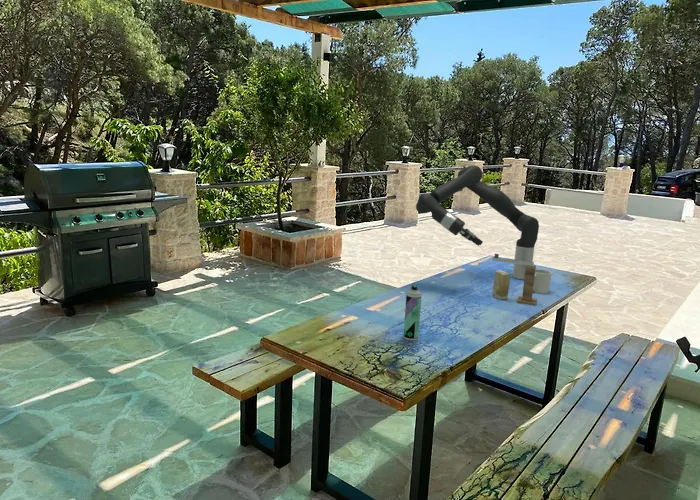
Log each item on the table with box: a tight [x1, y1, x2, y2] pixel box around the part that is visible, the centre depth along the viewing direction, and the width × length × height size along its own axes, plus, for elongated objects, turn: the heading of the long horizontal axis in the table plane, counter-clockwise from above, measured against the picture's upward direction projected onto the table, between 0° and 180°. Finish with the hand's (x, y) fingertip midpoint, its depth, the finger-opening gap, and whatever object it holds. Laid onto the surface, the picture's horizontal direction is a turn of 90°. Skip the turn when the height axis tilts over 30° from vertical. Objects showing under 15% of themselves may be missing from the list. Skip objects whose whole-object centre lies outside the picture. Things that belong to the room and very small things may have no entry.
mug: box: [533, 268, 552, 294], centre depth 265 cm, size 11×10×10 cm
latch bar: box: [492, 253, 535, 266], centre depth 248 cm, size 2×18×3 cm, turn 67°
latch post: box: [516, 264, 538, 306], centre depth 247 cm, size 8×8×17 cm
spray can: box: [403, 284, 422, 342], centre depth 197 cm, size 6×6×20 cm
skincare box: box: [491, 270, 511, 301], centre depth 252 cm, size 6×4×12 cm
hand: (480, 243), depth 252 cm, fingers open, 8 cm apart
